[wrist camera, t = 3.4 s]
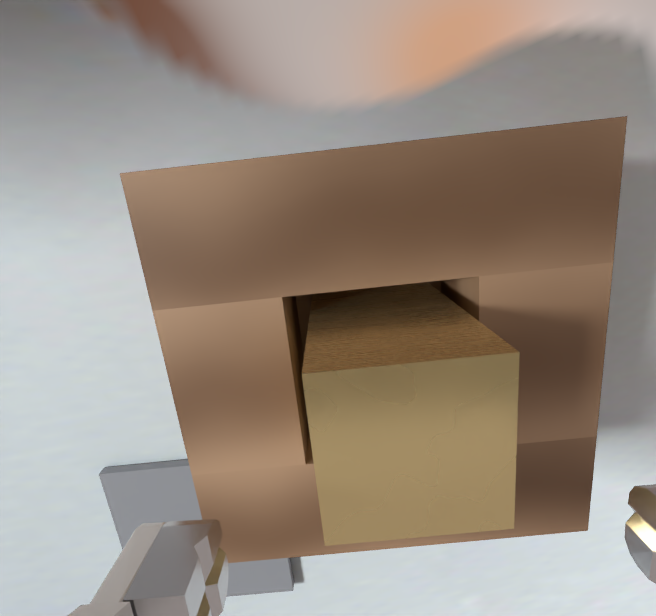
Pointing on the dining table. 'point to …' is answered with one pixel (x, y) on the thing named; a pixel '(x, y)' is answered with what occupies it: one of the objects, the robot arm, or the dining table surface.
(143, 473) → the slate pad
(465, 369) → the tan wooden block
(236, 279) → the wooden slotted box
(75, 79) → the dining table surface
